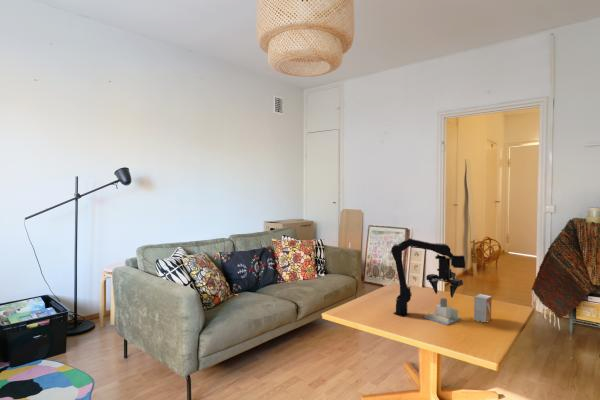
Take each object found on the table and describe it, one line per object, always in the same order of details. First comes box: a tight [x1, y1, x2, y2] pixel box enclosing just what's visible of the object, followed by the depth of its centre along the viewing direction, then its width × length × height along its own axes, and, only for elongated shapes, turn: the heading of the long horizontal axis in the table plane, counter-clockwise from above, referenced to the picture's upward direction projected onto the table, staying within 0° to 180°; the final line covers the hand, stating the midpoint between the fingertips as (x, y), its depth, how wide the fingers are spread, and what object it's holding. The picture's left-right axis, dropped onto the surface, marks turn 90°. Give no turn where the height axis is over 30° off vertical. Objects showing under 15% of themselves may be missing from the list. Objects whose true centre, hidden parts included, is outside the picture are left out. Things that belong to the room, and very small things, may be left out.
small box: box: [473, 293, 493, 323], centre depth 193 cm, size 8×6×13 cm
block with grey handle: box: [435, 297, 452, 319], centre depth 195 cm, size 5×6×10 cm
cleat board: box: [423, 304, 462, 326], centre depth 194 cm, size 14×14×6 cm
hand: (443, 295), depth 195 cm, fingers open, 9 cm apart
